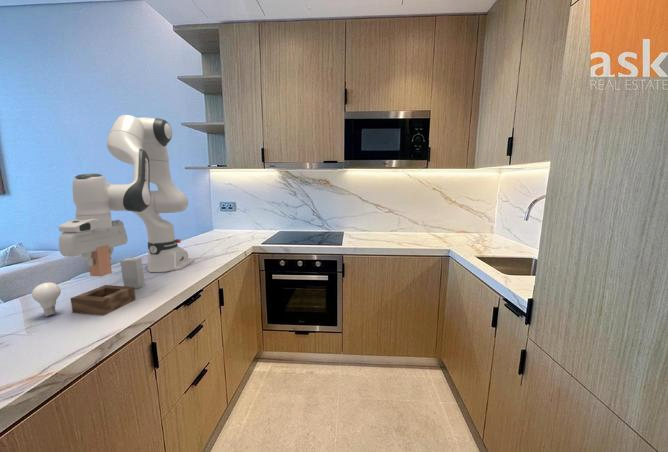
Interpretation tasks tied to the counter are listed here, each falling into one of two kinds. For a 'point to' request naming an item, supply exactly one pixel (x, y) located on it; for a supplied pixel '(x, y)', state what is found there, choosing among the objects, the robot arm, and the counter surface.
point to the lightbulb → (47, 296)
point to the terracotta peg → (101, 262)
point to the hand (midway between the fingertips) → (99, 262)
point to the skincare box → (132, 272)
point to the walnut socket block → (102, 299)
